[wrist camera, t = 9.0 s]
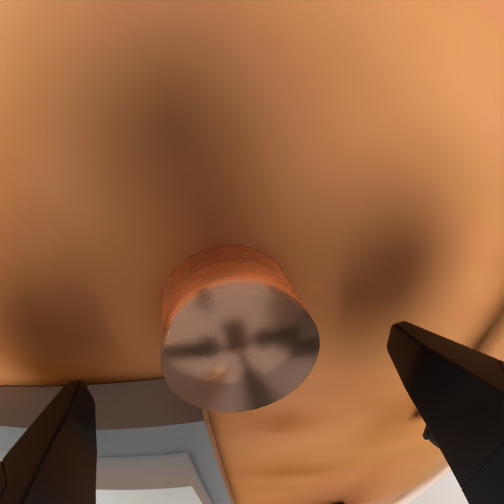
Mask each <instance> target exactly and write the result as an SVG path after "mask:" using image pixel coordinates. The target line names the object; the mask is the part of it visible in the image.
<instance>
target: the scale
mask: <svg viewBox="0 0 504 504" xmlns="http://www.w3.org/2000/svg"><path fill="white" fill-rule="evenodd" d="M86 386H87V387H88V389H89V391H90V393H91V395H92V397H93V398H94V401H95V410H96V438H97V470H96V504H236V503H235V500H234V497H233V494H232V491H231V488H230V485H229V482H228V479H227V476H226V473H225V470H224V467H223V463H222V460H221V457H220V454H219V450H218V447H217V444H216V440H215V437H214V433H213V430H212V426H211V423H210V419H209V416H208V412H207V410H205V409H202V408H199V407H196V406H194V405H192V404H189V403H188V402H186V401H184V400H183V399H181V398H180V397H179V396H178V395H176V394H175V393H174V392H173V390H172V389H171V388H170V387H169V385H168V384H167V382H166V380H165V378H162V379H153V380H144V381H134V382H123V383H111V384H96V385H86ZM63 387H64V386H46V387H15V386H0V461H3V460H2V459H3V458H4V456H5V455H6V454H7V453H8V452H9V450H10V449H11V448H12V447H13V445H14V444H15V443H16V442H17V441H18V439H19V438H20V437H21V436H22V434H23V433H24V432H25V431H26V430H27V429H28V427H29V426H30V425H31V424H32V423H33V421H34V420H35V419H36V418H37V417H38V415H39V414H40V413H41V412H42V411H43V410H44V408H45V407H46V406H47V405H48V404H49V403H50V402H51V400H52V399H53V398H54V397H55V396H56V395H57V393H58V392H59V391H60V390H61V389H62V388H63Z"/></svg>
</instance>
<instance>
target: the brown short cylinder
mask: <svg viewBox="0 0 504 504" xmlns="http://www.w3.org/2000/svg"><path fill="white" fill-rule="evenodd" d="M318 353H319V334H318V330H317V327H316V325H315V323H314V321H313V320H312V318H311V316H310V315H309V313H308V312H307V310H306V308H305V307H304V305H303V304H302V302H301V301H300V299H299V297H298V296H297V294H296V293H295V291H294V290H293V288H292V286H291V285H290V283H289V282H288V280H287V279H286V277H285V275H284V274H283V272H282V271H281V269H280V268H279V267H278V265H277V264H276V263H275V262H274V261H273V260H272V259H270V258H269V257H268V256H266V255H265V254H263V253H261V252H259V251H257V250H254V249H251V248H248V247H242V246H230V245H228V246H218V247H214V248H210V249H207V250H204V251H201V252H199V253H197V254H195V255H193V256H191V257H190V258H188V259H187V260H185V261H184V262H183V263H182V264H181V265H180V266H179V267H178V268H177V269H176V270H175V271H174V272H173V274H172V275H171V277H170V278H169V280H168V282H167V284H166V286H165V290H164V293H163V299H162V325H161V368H162V372H163V376H164V378H165V380H166V382H167V384H168V385H169V387H170V388H171V389H172V390H173V392H174V393H175V394H176V395H178V396H179V397H180V398H181V399H183V400H184V401H186V402H188V403H189V404H192V405H194V406H196V407H199V408H202V409H205V410H210V411H216V412H241V411H248V410H252V409H257V408H260V407H263V406H266V405H268V404H271V403H273V402H275V401H277V400H279V399H281V398H283V397H284V396H286V395H287V394H289V393H290V392H291V391H293V390H294V389H295V388H296V387H298V386H299V385H300V384H301V383H302V382H303V381H304V379H305V378H306V377H307V376H308V374H309V373H310V371H311V370H312V368H313V366H314V364H315V362H316V359H317V356H318Z"/></svg>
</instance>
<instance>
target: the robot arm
mask: <svg viewBox="0 0 504 504" xmlns="http://www.w3.org/2000/svg"><path fill="white" fill-rule="evenodd" d="M387 350H388V353H389V355H390V357H391V359H392V361H393V363H394V365H395V368H396V370H397V372H398V374H399V376H400V378H401V381H402V383H403V385H404V387H405V389H406V391H407V392H408V394H409V396H410V398H411V399H412V401H413V403H414V404H415V406H416V408H417V409H418V411H419V413H420V415H421V416H422V418H423V420H424V421H425V423H426V425H427V427H428V428H429V430H430V432H431V434H432V435H433V437H434V439H435V441H436V443H437V444H438V446H439V448H440V450H441V451H442V453H443V455H444V457H445V459H446V461H447V462H448V464H449V466H450V468H451V470H452V471H453V473H454V475H455V477H456V479H457V481H458V483H459V485H460V487H461V488H462V491H463V493H464V495H465V497H466V499H467V501H468V503H469V504H504V362H503V361H501V360H498V359H496V358H493V357H491V356H489V355H486V354H484V353H481V352H479V351H476V350H474V349H471V348H469V347H467V346H464V345H462V344H459V343H457V342H454V341H452V340H449V339H447V338H445V337H442V336H440V335H437V334H435V333H432V332H430V331H428V330H425V329H423V328H420V327H418V326H415V325H413V324H411V323H408V322H406V321H402V322H398V323H395V324H393V325H392V327H391V330H390V334H389V338H388V343H387ZM2 460H3V461H0V504H96V470H97V438H96V410H95V401H94V398H93V397H92V395H91V393H90V391H89V389H88V387H87V386H86V384H85V382H84V381H83V380H70V381H68V382H67V383H66V384H65V385H64V387H63V388H62V389H61V390H60V391H59V392H58V393H57V395H56V396H55V397H54V398H53V399H52V400H51V402H50V403H49V404H48V405H47V406H46V407H45V408H44V410H43V411H42V412H41V413H40V414H39V415H38V417H37V418H36V419H35V420H34V421H33V423H32V424H31V425H30V426H29V427H28V429H27V430H26V431H25V432H24V433H23V434H22V436H21V437H20V438H19V439H18V441H17V442H16V443H15V444H14V445H13V447H12V448H11V449H10V450H9V452H8V453H7V454H6V455H5V456H4V458H3V459H2ZM339 504H345V503H344V502H342V503H339Z"/></svg>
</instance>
